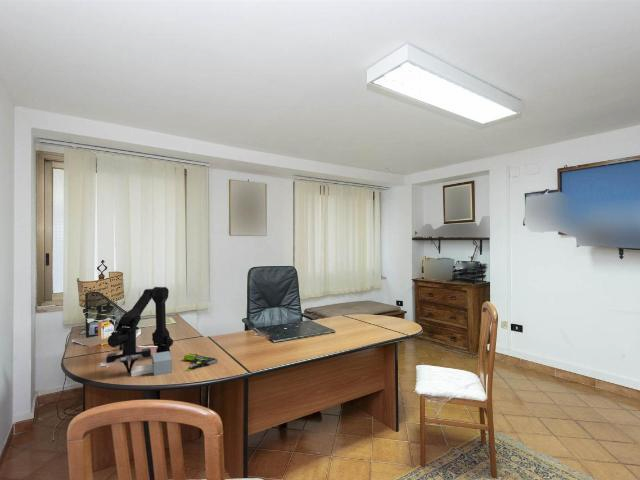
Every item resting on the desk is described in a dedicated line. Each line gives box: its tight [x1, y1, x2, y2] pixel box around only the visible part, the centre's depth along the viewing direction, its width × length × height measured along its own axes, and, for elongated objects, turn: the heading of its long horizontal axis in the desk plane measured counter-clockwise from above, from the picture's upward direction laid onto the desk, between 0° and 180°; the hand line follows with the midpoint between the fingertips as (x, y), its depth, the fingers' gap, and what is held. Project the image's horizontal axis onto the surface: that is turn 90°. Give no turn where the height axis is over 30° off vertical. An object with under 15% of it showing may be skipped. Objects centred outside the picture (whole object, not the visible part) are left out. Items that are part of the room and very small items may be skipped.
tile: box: [130, 363, 154, 377], centre depth 167 cm, size 14×7×2 cm, turn 123°
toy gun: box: [183, 353, 218, 372], centre depth 175 cm, size 20×4×15 cm
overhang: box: [151, 351, 173, 376], centre depth 169 cm, size 8×14×6 cm, turn 30°
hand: (129, 372), depth 162 cm, fingers closed
